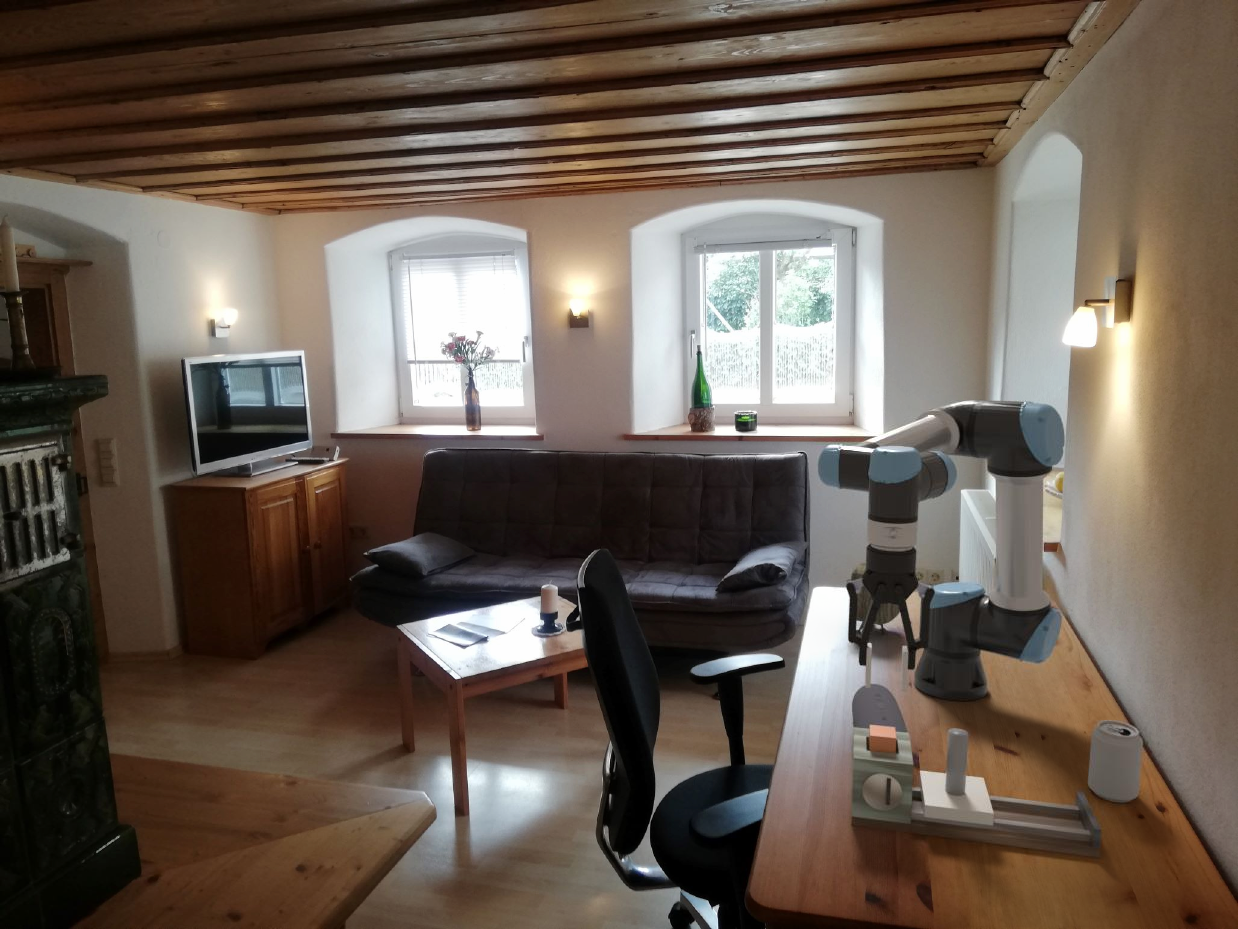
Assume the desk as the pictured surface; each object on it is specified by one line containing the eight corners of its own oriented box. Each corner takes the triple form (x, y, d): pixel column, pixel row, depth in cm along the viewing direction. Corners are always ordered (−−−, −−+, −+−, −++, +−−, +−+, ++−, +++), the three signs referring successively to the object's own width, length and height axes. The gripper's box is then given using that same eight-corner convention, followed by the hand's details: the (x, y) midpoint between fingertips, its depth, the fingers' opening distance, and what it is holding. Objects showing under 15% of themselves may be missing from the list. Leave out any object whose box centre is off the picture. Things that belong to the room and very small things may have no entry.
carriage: (919, 781, 147) (922, 714, 145) (982, 789, 145) (986, 720, 143) (924, 816, 137) (928, 745, 135) (993, 825, 134) (997, 752, 132)
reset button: (869, 741, 145) (869, 724, 144) (894, 744, 144) (895, 727, 143) (869, 752, 141) (870, 735, 140) (895, 755, 140) (896, 738, 139)
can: (1137, 809, 144) (1143, 741, 142) (1085, 797, 147) (1091, 730, 146) (1138, 789, 150) (1144, 723, 148) (1089, 777, 154) (1094, 713, 152)
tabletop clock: (868, 621, 235) (871, 531, 231) (901, 627, 230) (905, 535, 226) (848, 637, 224) (851, 542, 220) (883, 644, 218) (886, 547, 214)
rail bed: (851, 789, 150) (853, 727, 149) (1081, 817, 141) (1086, 751, 140) (851, 827, 139) (853, 760, 137) (1101, 860, 130) (1107, 789, 128)
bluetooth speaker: (914, 790, 150) (917, 735, 149) (858, 785, 152) (860, 731, 150) (897, 730, 172) (899, 682, 171) (848, 727, 174) (850, 679, 172)
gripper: (832, 548, 136) (828, 690, 139) (954, 554, 131) (946, 701, 135) (833, 536, 143) (829, 672, 146) (949, 542, 138) (942, 682, 142)
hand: (885, 685), depth 141 cm, fingers open, 5 cm apart
